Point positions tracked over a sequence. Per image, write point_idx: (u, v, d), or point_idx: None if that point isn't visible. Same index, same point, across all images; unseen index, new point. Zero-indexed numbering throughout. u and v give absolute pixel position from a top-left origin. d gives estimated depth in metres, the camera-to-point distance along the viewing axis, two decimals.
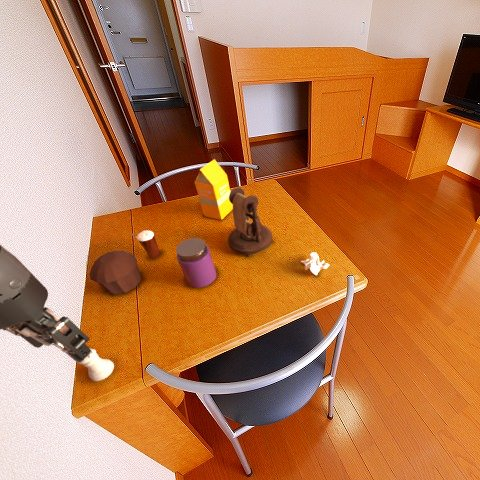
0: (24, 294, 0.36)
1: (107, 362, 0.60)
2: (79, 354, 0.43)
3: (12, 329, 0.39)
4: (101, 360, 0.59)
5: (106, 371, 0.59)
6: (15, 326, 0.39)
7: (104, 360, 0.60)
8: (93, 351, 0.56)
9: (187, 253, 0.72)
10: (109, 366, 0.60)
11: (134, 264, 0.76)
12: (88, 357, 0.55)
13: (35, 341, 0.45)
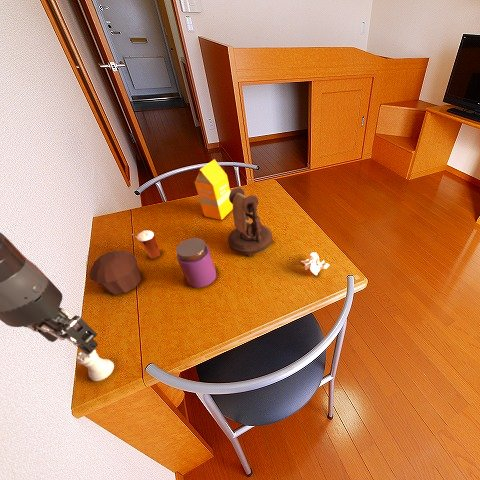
0: (44, 297, 0.43)
1: (107, 362, 0.60)
2: (88, 347, 0.50)
3: (32, 326, 0.46)
4: (101, 360, 0.59)
5: (106, 371, 0.59)
6: (35, 323, 0.47)
7: (104, 360, 0.60)
8: (93, 351, 0.56)
9: (187, 253, 0.72)
10: (109, 366, 0.60)
11: (134, 264, 0.76)
12: (88, 357, 0.55)
13: (50, 336, 0.52)
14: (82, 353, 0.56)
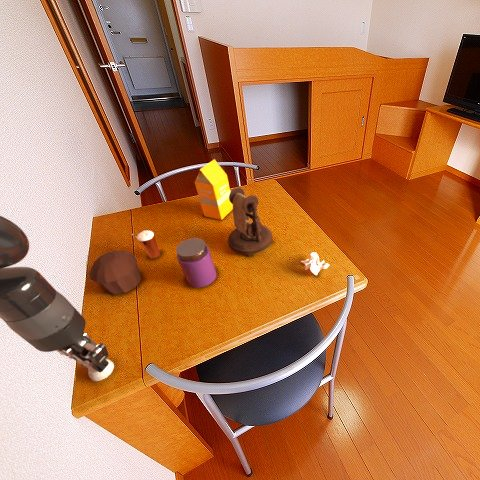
0: (71, 324, 0.48)
1: None
2: (100, 366, 0.56)
3: (59, 349, 0.51)
4: None
5: (106, 371, 0.59)
6: None
7: None
8: None
9: (187, 253, 0.72)
10: (109, 366, 0.60)
11: (134, 264, 0.76)
12: None
13: None
14: None
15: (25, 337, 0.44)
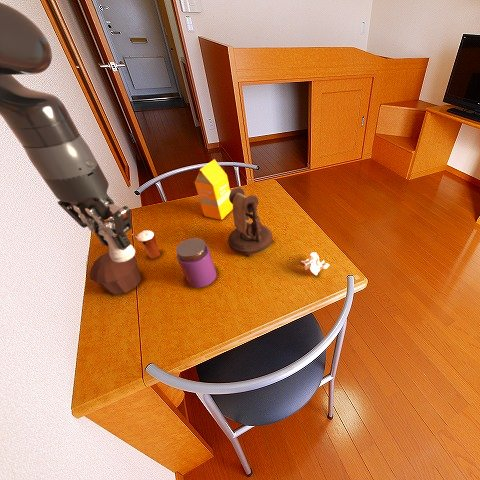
0: (95, 174, 0.45)
1: None
2: (123, 241, 0.53)
3: (81, 210, 0.48)
4: None
5: (128, 252, 0.56)
6: (82, 209, 0.49)
7: None
8: (114, 225, 0.53)
9: (187, 253, 0.72)
10: (131, 248, 0.57)
11: (134, 264, 0.76)
12: None
13: (104, 240, 0.54)
14: None
15: (48, 175, 0.41)
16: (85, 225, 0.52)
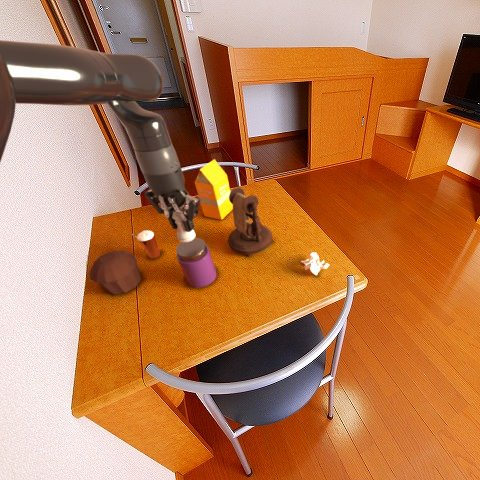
0: (179, 171, 0.60)
1: None
2: (190, 225, 0.68)
3: (163, 199, 0.63)
4: None
5: (191, 234, 0.71)
6: (164, 198, 0.63)
7: None
8: None
9: (187, 253, 0.72)
10: (193, 231, 0.71)
11: (134, 264, 0.76)
12: None
13: (174, 224, 0.69)
14: (175, 213, 0.67)
15: (150, 171, 0.56)
16: (162, 212, 0.67)
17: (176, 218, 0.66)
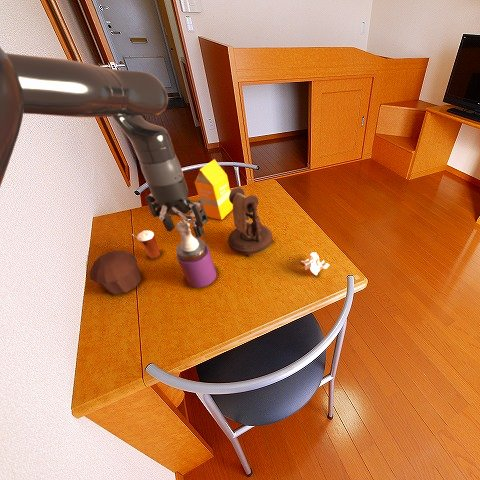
0: (182, 182, 0.61)
1: (194, 238, 0.74)
2: (200, 231, 0.69)
3: (167, 209, 0.65)
4: (191, 234, 0.72)
5: (195, 244, 0.73)
6: (168, 207, 0.65)
7: (192, 236, 0.73)
8: (187, 223, 0.70)
9: (187, 253, 0.72)
10: (196, 241, 0.73)
11: (134, 264, 0.76)
12: (185, 226, 0.69)
13: (169, 227, 0.71)
14: (179, 223, 0.70)
15: (154, 182, 0.58)
16: (156, 215, 0.68)
17: (180, 229, 0.69)
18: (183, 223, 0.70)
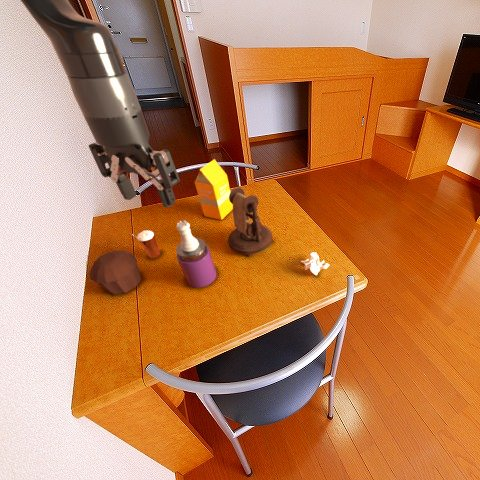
0: (139, 118, 0.42)
1: (194, 238, 0.74)
2: (169, 197, 0.49)
3: (119, 162, 0.45)
4: (191, 234, 0.72)
5: (195, 244, 0.73)
6: (121, 160, 0.45)
7: (192, 236, 0.73)
8: (187, 223, 0.70)
9: (187, 253, 0.72)
10: (196, 241, 0.73)
11: (134, 264, 0.76)
12: (185, 226, 0.69)
13: (126, 192, 0.51)
14: (179, 223, 0.70)
15: (92, 112, 0.38)
16: (107, 174, 0.49)
17: (180, 229, 0.69)
18: (183, 223, 0.70)
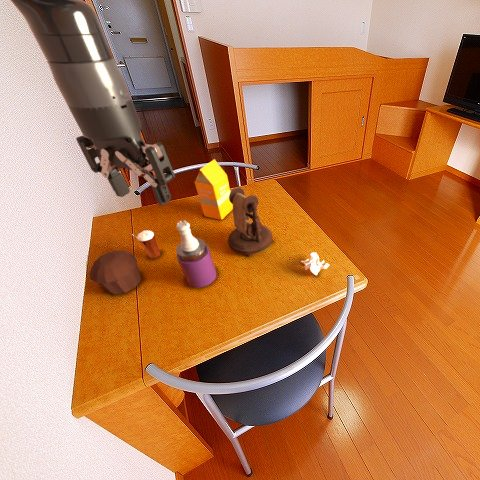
0: (129, 108, 0.38)
1: (194, 238, 0.74)
2: (164, 194, 0.46)
3: (109, 156, 0.42)
4: (191, 234, 0.72)
5: (195, 244, 0.73)
6: (111, 154, 0.42)
7: (192, 236, 0.73)
8: (187, 223, 0.70)
9: (187, 253, 0.72)
10: (196, 241, 0.73)
11: (134, 264, 0.76)
12: (185, 226, 0.69)
13: (119, 189, 0.48)
14: (179, 223, 0.70)
15: (76, 101, 0.35)
16: (97, 169, 0.45)
17: (180, 229, 0.69)
18: (183, 223, 0.70)
